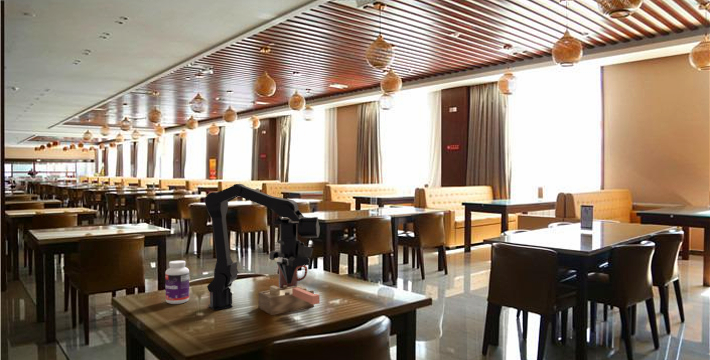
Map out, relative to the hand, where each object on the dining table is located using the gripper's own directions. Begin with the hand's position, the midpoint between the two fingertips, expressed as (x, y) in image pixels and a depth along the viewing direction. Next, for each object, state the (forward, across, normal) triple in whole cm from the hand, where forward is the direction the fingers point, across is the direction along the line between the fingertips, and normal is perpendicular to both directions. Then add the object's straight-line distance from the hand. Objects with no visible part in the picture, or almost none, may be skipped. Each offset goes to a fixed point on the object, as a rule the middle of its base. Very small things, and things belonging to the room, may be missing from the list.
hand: (289, 283), depth 163 cm
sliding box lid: (+4, +2, 0) cm, 5 cm away
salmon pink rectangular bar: (+3, -11, 0) cm, 12 cm away
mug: (+9, +24, -14) cm, 29 cm away
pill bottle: (+9, +32, +28) cm, 44 cm away
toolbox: (+9, +2, 0) cm, 9 cm away
